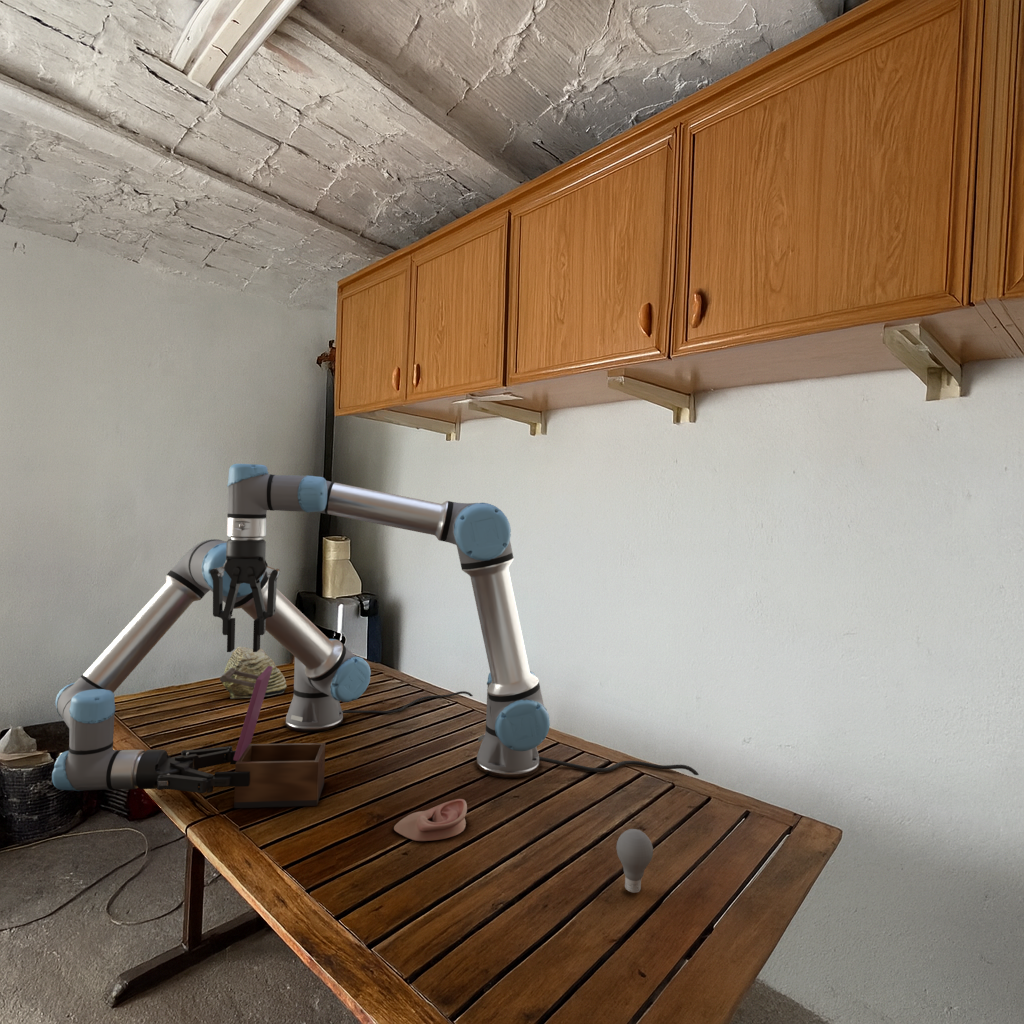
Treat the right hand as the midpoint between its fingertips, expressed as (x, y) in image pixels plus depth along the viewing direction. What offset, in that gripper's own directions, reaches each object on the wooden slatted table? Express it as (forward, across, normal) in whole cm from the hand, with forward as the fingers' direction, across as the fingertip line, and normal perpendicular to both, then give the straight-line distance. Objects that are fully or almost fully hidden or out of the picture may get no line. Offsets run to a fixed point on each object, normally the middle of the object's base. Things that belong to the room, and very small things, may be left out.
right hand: (243, 650), depth 132 cm
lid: (+13, +3, 0) cm, 13 cm away
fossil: (+31, -14, +68) cm, 76 cm away
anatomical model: (+31, +39, -15) cm, 52 cm away
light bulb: (+32, +72, -38) cm, 87 cm away
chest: (+31, +8, 0) cm, 32 cm away
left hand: (+25, +3, 0) cm, 25 cm away
